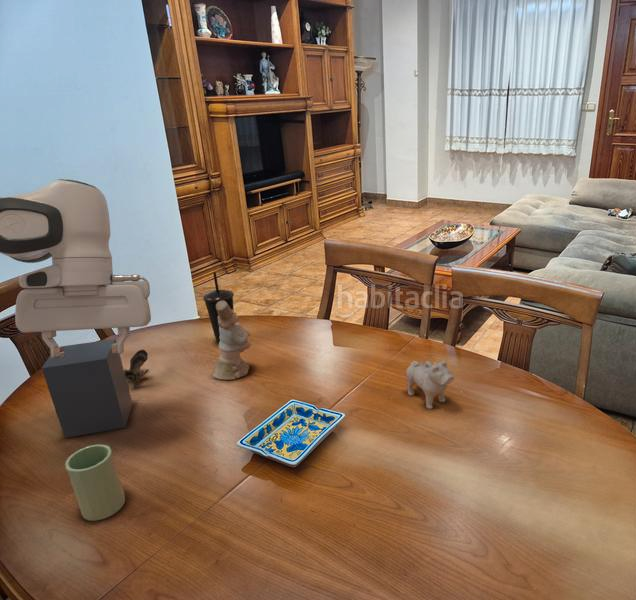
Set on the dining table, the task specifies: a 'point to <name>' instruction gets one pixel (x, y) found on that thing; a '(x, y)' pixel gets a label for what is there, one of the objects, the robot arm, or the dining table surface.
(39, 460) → the dining table surface
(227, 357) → the figurine
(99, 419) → the stand
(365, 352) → the dining table surface
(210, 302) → the drinking cup
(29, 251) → the robot arm
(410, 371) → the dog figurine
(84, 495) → the green cup
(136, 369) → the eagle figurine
